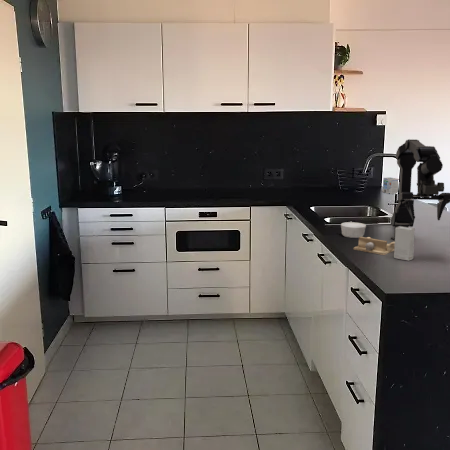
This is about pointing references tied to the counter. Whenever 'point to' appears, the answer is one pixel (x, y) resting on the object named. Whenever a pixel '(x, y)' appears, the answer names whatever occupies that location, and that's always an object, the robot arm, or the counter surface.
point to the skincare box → (404, 243)
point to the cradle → (374, 246)
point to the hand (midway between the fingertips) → (426, 220)
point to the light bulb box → (390, 185)
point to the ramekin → (353, 229)
